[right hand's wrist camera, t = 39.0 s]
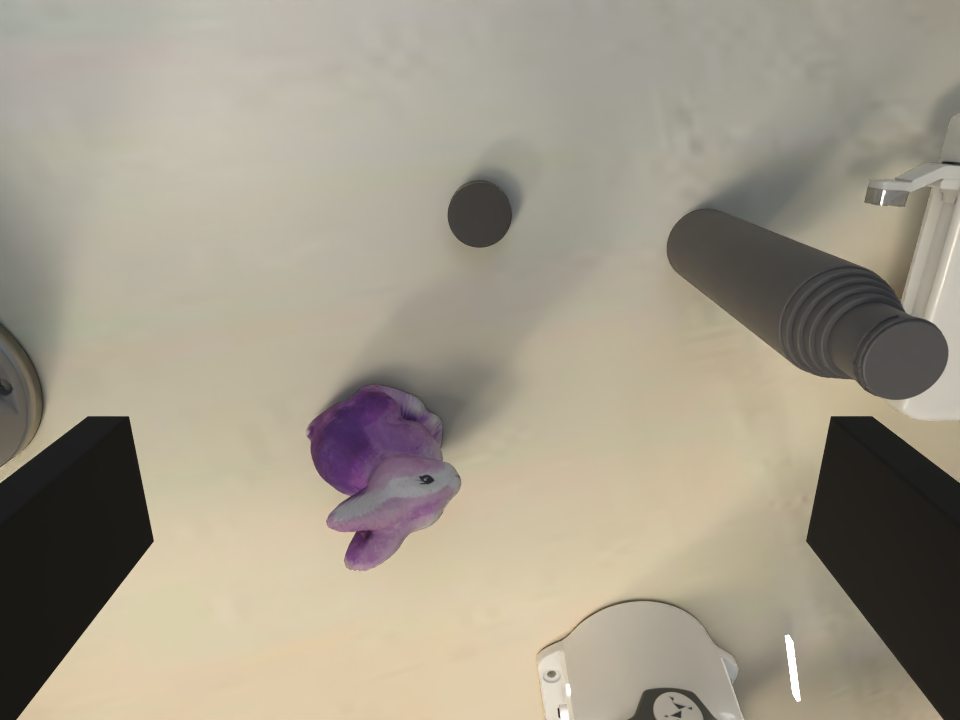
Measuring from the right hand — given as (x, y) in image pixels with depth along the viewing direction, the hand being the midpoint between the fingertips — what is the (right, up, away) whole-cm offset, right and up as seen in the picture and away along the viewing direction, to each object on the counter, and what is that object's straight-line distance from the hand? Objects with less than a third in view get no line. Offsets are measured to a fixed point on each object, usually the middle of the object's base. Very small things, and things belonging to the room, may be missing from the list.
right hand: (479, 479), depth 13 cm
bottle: (+16, +11, +37) cm, 42 cm away
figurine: (-7, -3, +42) cm, 42 cm away
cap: (0, +12, +34) cm, 36 cm away
